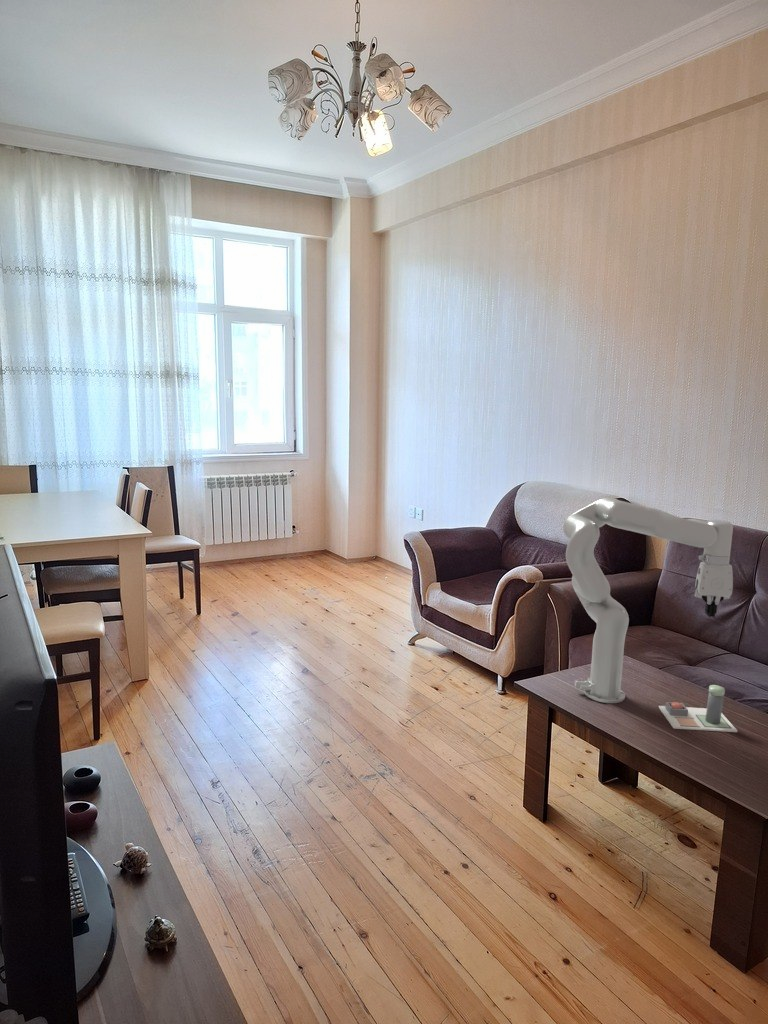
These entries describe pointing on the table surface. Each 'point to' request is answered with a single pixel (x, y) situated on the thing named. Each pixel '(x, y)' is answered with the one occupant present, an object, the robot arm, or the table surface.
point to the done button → (676, 705)
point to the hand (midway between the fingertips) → (710, 615)
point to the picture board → (694, 719)
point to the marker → (714, 704)
